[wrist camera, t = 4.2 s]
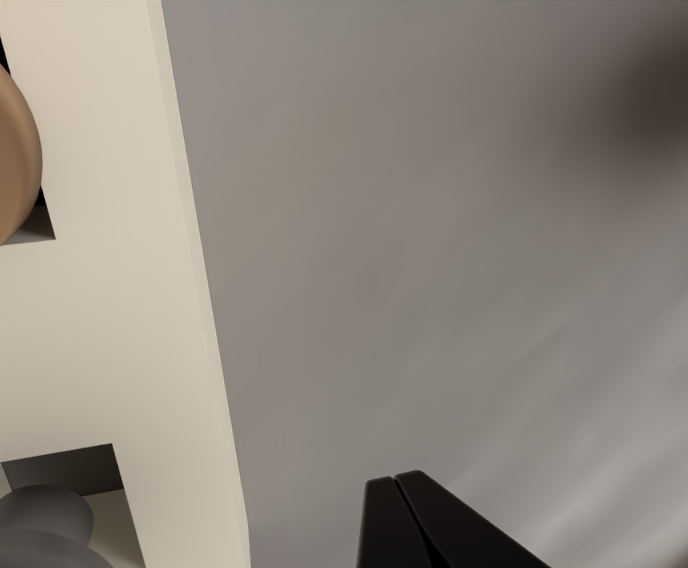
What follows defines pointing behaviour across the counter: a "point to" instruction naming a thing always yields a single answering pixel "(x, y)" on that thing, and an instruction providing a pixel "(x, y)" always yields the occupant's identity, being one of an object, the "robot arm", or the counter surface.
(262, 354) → the counter surface
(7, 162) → the walnut knob
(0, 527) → the grey knob
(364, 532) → the robot arm
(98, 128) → the knob panel
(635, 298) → the counter surface
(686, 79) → the counter surface
